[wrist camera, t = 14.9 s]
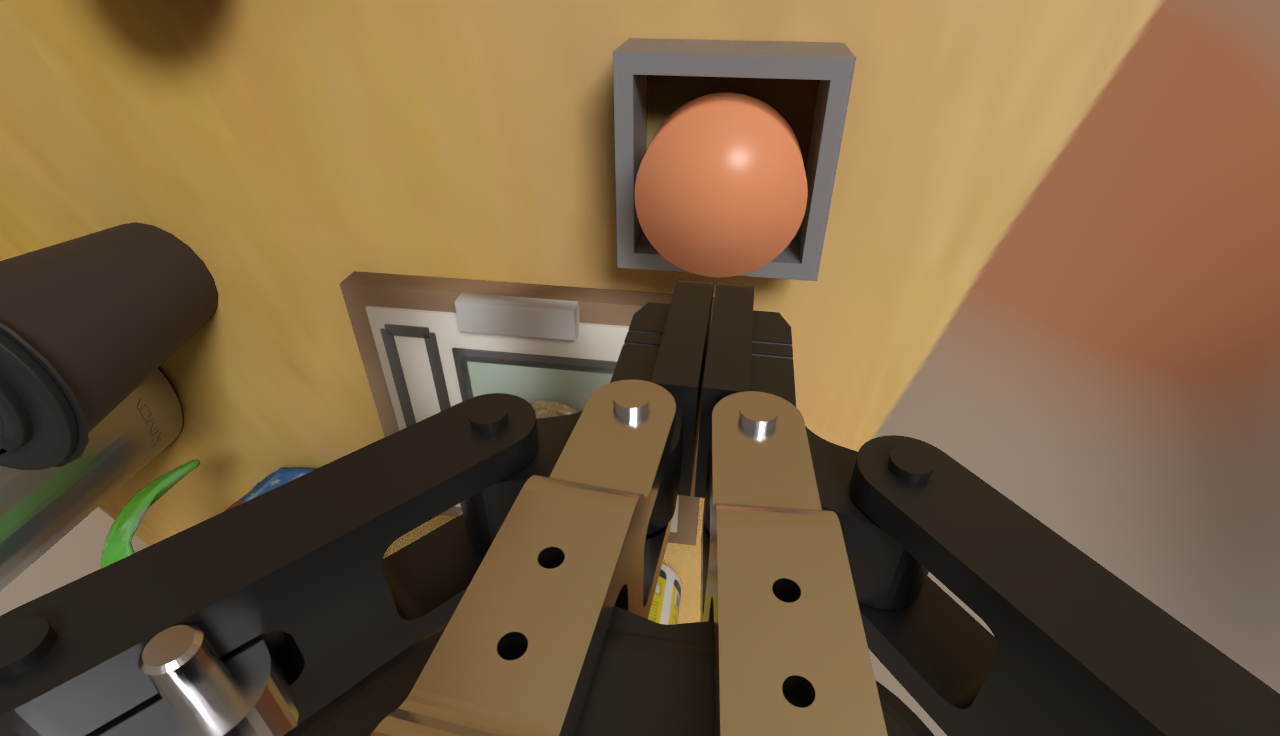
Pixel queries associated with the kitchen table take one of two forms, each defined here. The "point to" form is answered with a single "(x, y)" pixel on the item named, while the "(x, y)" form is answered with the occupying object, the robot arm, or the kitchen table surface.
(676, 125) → the button
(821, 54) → the button collar
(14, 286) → the coffee cup
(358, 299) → the colouring board
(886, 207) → the kitchen table surface
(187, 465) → the snack cup
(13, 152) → the kitchen table surface
